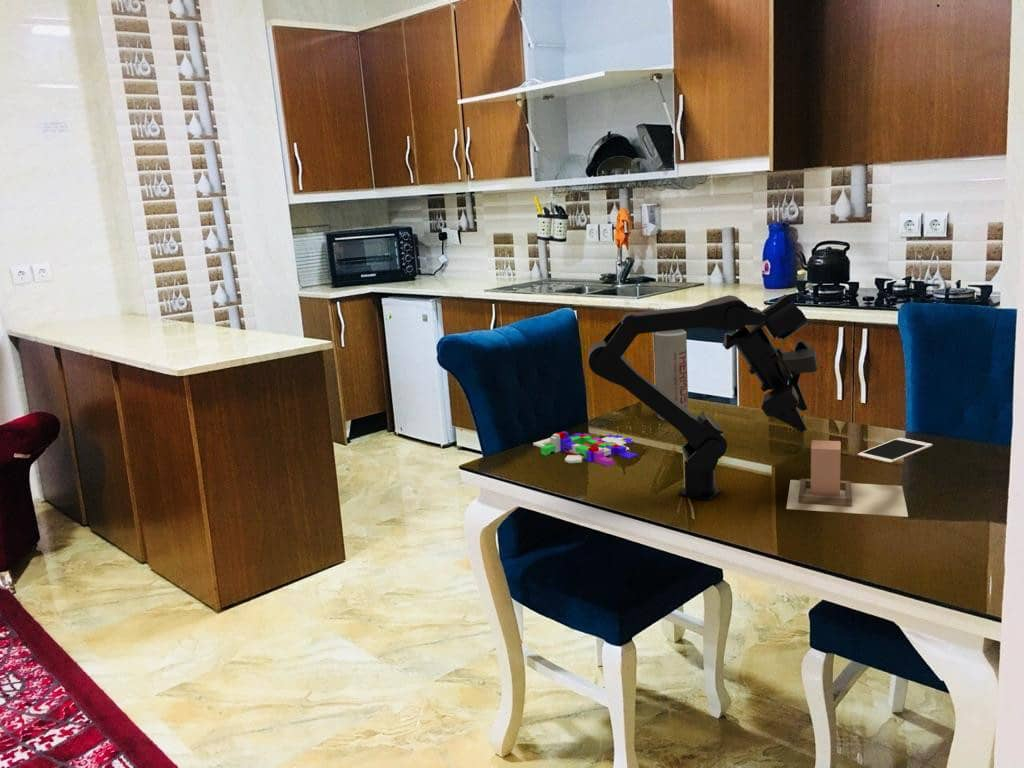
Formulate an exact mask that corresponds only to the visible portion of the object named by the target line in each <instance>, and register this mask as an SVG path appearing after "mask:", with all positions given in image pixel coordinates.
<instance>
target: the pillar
mask: <svg viewBox="0 0 1024 768" xmlns="http://www.w3.org/2000/svg"><path fill="white" fill-rule="evenodd" d="M841 446H842V445H841V441H840V440H815V439H812V440H811V446H810V479H811V494H814V495H831V496H840V481H841V456H842V455H841V452H842V451H841Z"/></svg>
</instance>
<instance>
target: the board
mask: <svg viewBox="0 0 1024 768" xmlns="http://www.w3.org/2000/svg"><path fill="white" fill-rule="evenodd" d="M785 509H786V510H794V511H795V510H798V511H814V512H815V511H816V512H829V513H845V514H857V515H859V514H860V515H874V516H886V517H887V516H889V517H903V518H904V517H905V518H908V517H909V515H908V514H909V513H908V508H907V503H906V499H905V493H904V489H903V485H894V484H893V485H891V484H873V483H858V482H857V483H856V482H855V483H854V482H852V481H850V480H840V496H831V495H814V494H811V478H800V479H798V480H797V479H790V482H789V489H788V495H787V500H786V508H785Z"/></svg>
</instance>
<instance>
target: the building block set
mask: <svg viewBox="0 0 1024 768" xmlns="http://www.w3.org/2000/svg"><path fill="white" fill-rule="evenodd" d="M631 440H632V438H628V437H626V438H623V436H621V435H614V434H607V435H605V436H604V437H602V438H600V437H594V438H593V437H592V436H591V435H590V434H587V433H580V432H577V433H574V434H573V433H572V435H569V432H568V431H565V430H564V431H560V432H555V433H554V434H553V433H552V435H551V437H548V438H546V439H545V438H544V439H541V440H539V441H536V442H535V441H534V442H533V443H532V444H533V446H535V447H537V448H540V455H543V456H548V455H551V453H555V454H556V453H559V452H564V453H567V454H568V455H567V456H566V457H565V458H564V462H566V463H568V464H577V463H583V459H584V460H586V462H588V463H591V464H592V463H597V464H599V465H603V466H606V467H611V466H614V465H615V463H614V461H615V459H613V458H609V457H611V456H615V455H616V454H618V455H617V456H621V457H620V458H623V457H624V458H623V459H626V458H628V459H627V460H629V459H630V458H633V457H635V456H638V457H639V454H637V453H634V452H631V451H630V447H628V446H626V445H624V444H626V443H627V444H630V443H633V442H634V443H635V441H633V440H632V441H631ZM627 450H629V451H627ZM626 451H627V452H626ZM614 454H615V455H614ZM607 456H608V457H607ZM633 459H634V458H633ZM630 460H631V459H630Z"/></svg>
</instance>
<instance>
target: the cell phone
mask: <svg viewBox="0 0 1024 768" xmlns="http://www.w3.org/2000/svg"><path fill="white" fill-rule="evenodd" d="M930 447H933V443H928V442H925V441H919V440H913V439H909V438H905V437H896V438H895V439H891V440H889V441H887V442H884V443H881V444H879V445H877V446H873V447H870V448H868V449H867V450H864V451H861V452H858V453H857V456H860V457H862V458H869V459H872V460H877V461H880V462H884V463H888V462H889V463H890V464H892V463H895V462H896V461H899V460H902V459H904V458H906V457H908V456H911V455H914V454H916V453H918V452H921V451H922V450H926V449H928V448H930ZM894 461H895V462H894Z"/></svg>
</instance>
